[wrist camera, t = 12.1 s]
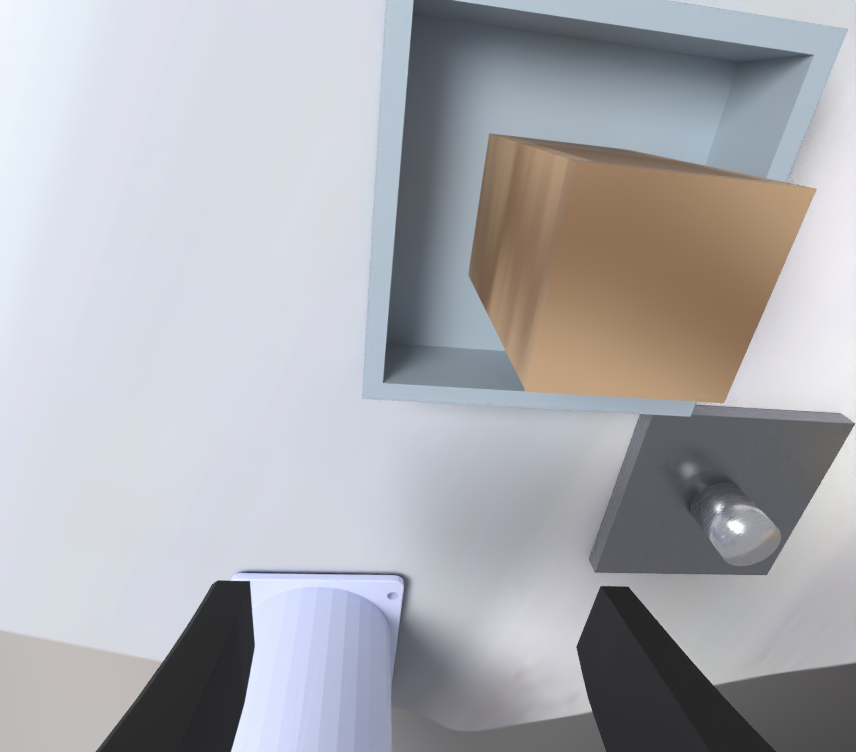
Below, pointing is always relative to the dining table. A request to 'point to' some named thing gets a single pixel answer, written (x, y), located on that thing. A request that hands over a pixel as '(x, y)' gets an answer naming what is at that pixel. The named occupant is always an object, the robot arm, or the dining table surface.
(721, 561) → the base
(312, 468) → the dining table surface
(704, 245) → the brown block
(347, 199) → the dining table surface
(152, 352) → the dining table surface
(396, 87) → the bin
